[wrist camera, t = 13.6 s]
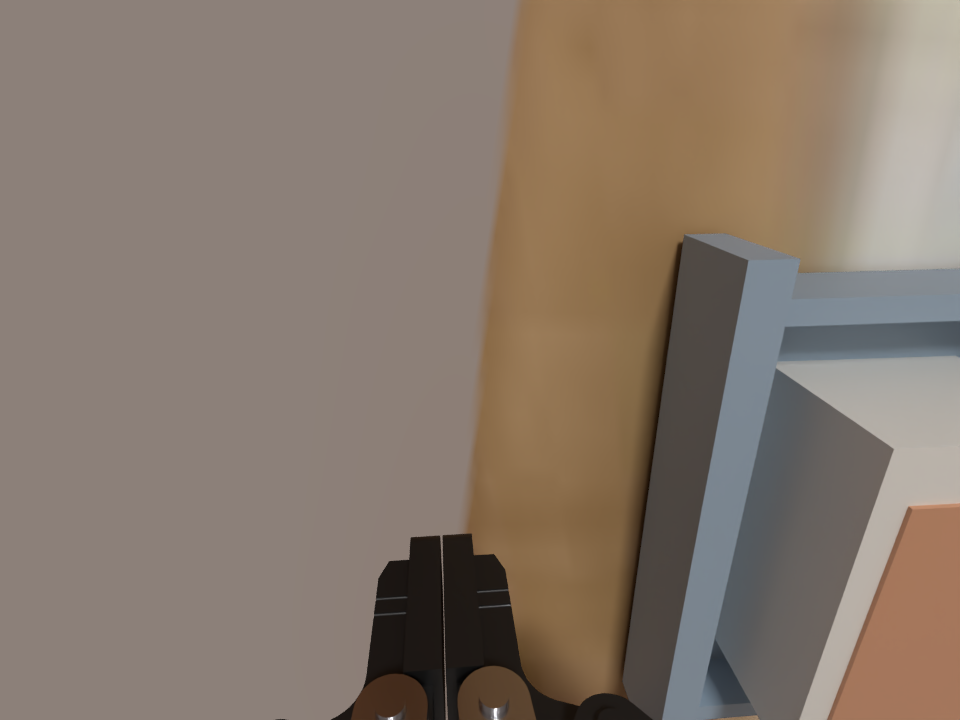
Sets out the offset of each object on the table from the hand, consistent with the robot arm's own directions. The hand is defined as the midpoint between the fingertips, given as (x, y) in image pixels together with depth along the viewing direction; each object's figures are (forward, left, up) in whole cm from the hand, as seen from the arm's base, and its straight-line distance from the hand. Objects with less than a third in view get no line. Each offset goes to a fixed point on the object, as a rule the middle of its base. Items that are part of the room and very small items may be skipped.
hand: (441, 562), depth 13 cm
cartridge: (-11, 0, -1) cm, 11 cm away
